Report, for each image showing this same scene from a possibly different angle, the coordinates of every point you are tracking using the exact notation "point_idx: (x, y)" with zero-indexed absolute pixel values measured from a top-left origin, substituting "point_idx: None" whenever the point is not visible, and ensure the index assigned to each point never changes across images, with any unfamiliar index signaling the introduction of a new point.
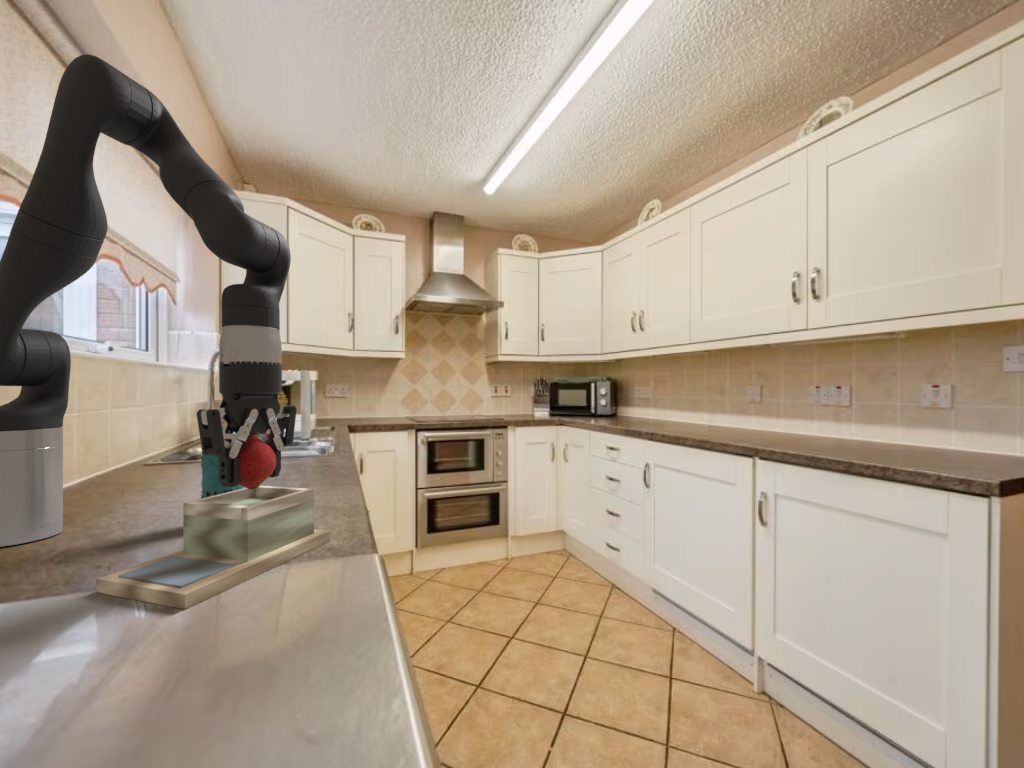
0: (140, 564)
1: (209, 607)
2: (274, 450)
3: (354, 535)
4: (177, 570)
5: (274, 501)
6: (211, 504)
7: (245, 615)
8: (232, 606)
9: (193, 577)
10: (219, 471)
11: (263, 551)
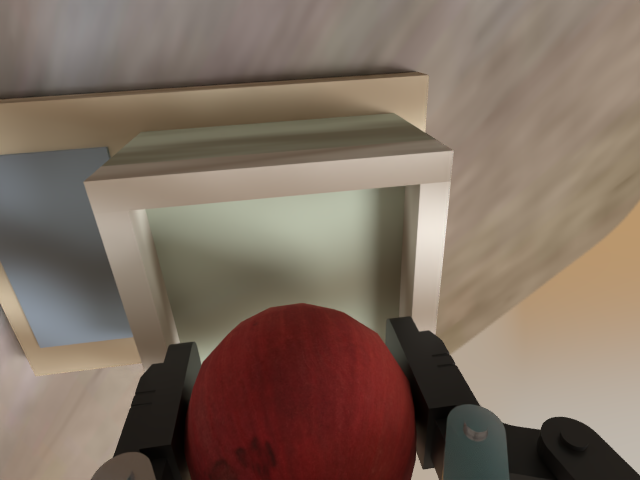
0: (24, 110)
1: (78, 379)
2: (434, 464)
3: (450, 331)
4: (67, 263)
5: None
6: (136, 308)
7: (99, 437)
8: (102, 403)
9: (73, 329)
10: (131, 410)
11: None
